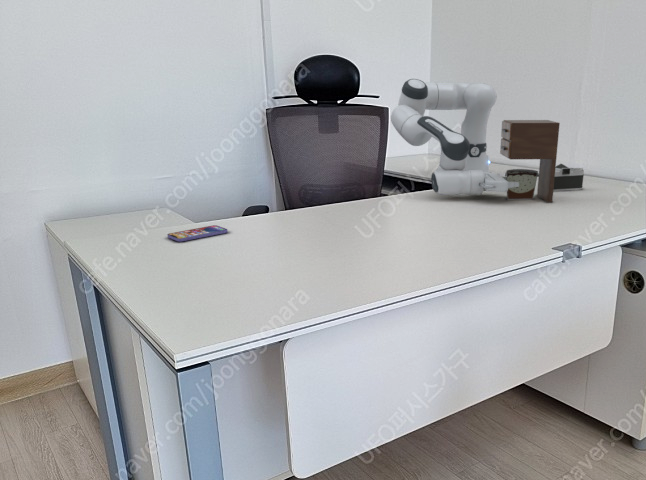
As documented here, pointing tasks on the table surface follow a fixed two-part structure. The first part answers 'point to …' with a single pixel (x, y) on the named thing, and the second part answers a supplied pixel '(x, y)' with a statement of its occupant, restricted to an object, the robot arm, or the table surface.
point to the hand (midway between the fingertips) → (515, 181)
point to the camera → (568, 178)
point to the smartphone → (197, 233)
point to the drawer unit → (533, 148)
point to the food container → (521, 183)
